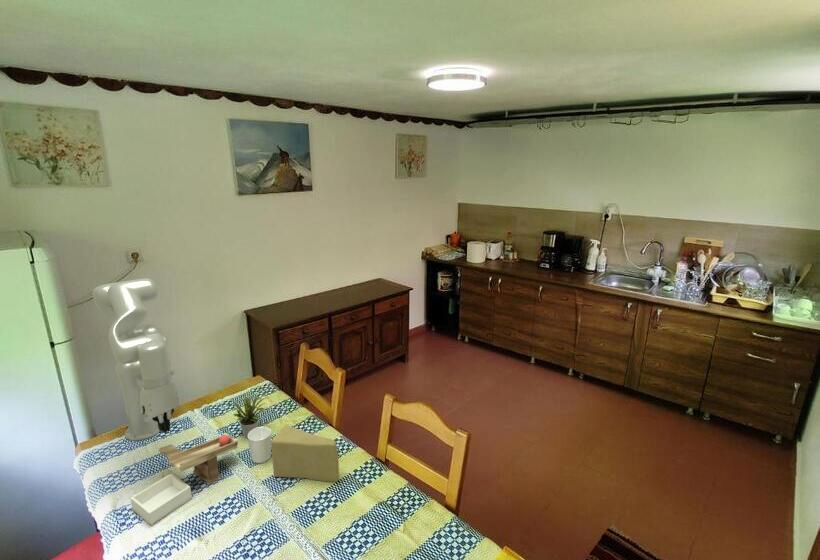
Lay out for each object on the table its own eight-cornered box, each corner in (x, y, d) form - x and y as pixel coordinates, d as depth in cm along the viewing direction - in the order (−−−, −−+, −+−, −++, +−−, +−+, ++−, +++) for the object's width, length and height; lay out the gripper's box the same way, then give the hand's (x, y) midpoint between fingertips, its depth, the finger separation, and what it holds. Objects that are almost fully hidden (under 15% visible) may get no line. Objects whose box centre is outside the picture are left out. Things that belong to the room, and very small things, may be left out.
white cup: (265, 466, 143) (263, 442, 140) (245, 462, 144) (243, 438, 141) (276, 451, 150) (275, 428, 147) (257, 448, 152) (255, 425, 149)
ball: (216, 445, 141) (216, 436, 141) (225, 441, 144) (225, 432, 144) (222, 449, 139) (222, 439, 139) (231, 444, 142) (231, 435, 142)
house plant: (280, 431, 161) (277, 395, 157) (250, 450, 150) (246, 412, 146) (256, 419, 169) (254, 384, 164) (226, 436, 157) (222, 399, 153)
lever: (153, 457, 133) (154, 444, 133) (210, 436, 150) (211, 424, 150) (180, 476, 125) (182, 462, 125) (237, 451, 143) (238, 440, 142)
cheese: (344, 471, 142) (343, 434, 138) (332, 491, 132) (331, 452, 128) (287, 458, 147) (285, 422, 143) (272, 477, 138) (269, 439, 134)
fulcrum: (193, 472, 139) (190, 450, 136) (204, 466, 142) (201, 444, 139) (210, 484, 134) (207, 461, 131) (221, 477, 137) (218, 454, 135)
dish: (132, 509, 123) (130, 497, 122) (172, 484, 133) (171, 473, 132) (151, 526, 118) (149, 513, 117) (191, 498, 128) (190, 486, 127)
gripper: (174, 367, 136) (181, 415, 140) (125, 386, 123) (134, 438, 128) (187, 373, 132) (193, 422, 137) (137, 393, 120) (147, 447, 124)
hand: (165, 430), depth 132 cm, fingers closed
